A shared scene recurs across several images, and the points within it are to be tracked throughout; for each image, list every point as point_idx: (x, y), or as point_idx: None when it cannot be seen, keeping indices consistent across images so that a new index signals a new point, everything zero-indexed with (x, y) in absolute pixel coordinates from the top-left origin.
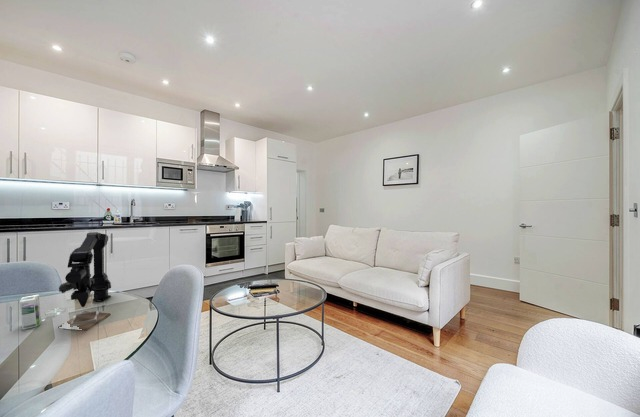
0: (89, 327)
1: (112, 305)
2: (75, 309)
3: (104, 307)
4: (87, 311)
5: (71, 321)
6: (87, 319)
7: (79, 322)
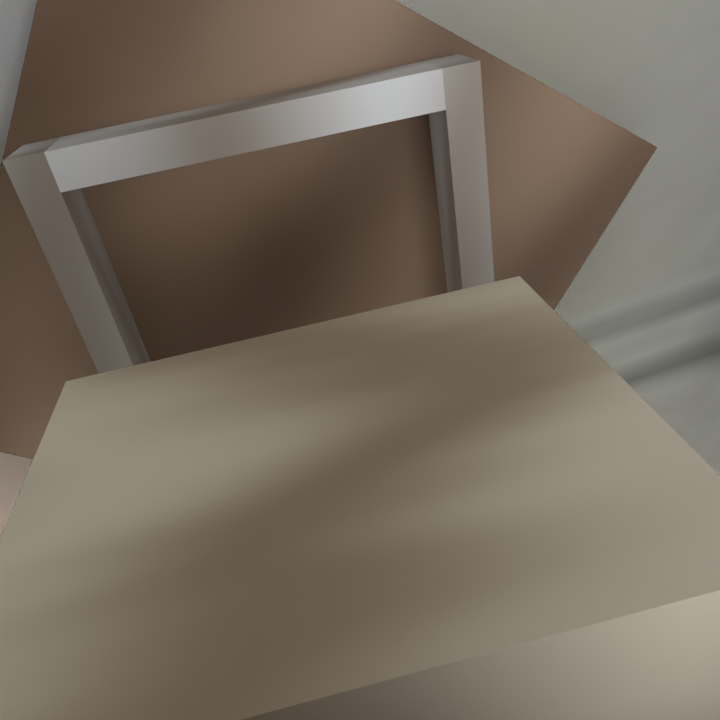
0: (13, 448)
1: (693, 444)
2: (66, 401)
3: (685, 369)
4: (618, 204)
5: (284, 57)
6: (293, 323)
7: (80, 309)
